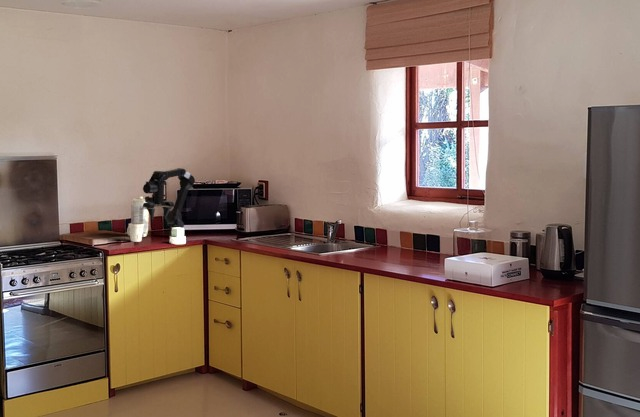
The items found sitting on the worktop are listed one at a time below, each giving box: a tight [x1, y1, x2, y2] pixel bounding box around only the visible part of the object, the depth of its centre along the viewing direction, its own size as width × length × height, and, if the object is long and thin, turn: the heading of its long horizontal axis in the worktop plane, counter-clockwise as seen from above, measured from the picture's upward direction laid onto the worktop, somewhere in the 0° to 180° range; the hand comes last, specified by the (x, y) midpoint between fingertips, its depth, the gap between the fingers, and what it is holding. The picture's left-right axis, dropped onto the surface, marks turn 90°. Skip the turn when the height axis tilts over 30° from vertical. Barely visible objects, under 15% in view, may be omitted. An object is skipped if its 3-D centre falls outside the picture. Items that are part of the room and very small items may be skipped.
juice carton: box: [130, 195, 149, 238], centre depth 446 cm, size 9×8×24 cm
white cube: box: [172, 227, 185, 238], centre depth 428 cm, size 5×5×5 cm
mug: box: [126, 222, 144, 243], centre depth 430 cm, size 8×13×10 cm, turn 53°
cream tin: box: [169, 235, 187, 245], centre depth 428 cm, size 9×9×4 cm
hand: (158, 219), depth 436 cm, fingers open, 9 cm apart
